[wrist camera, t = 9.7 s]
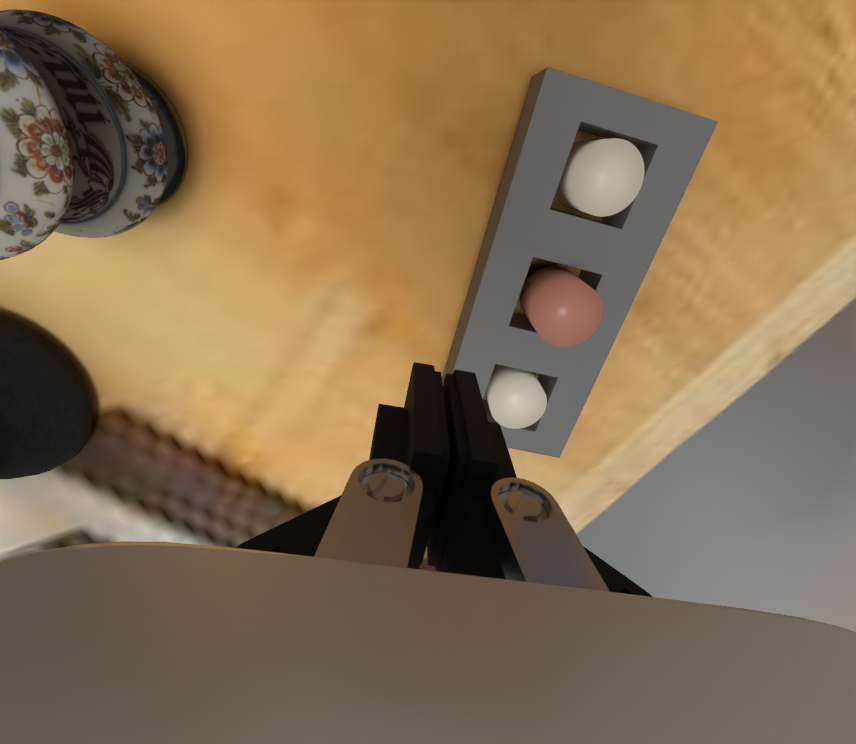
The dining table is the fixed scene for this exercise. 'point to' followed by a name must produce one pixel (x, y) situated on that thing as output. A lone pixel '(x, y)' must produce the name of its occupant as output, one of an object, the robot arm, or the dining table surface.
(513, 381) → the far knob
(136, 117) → the apothecary jar
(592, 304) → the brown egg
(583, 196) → the near knob
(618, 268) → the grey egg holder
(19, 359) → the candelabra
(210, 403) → the dining table surface
